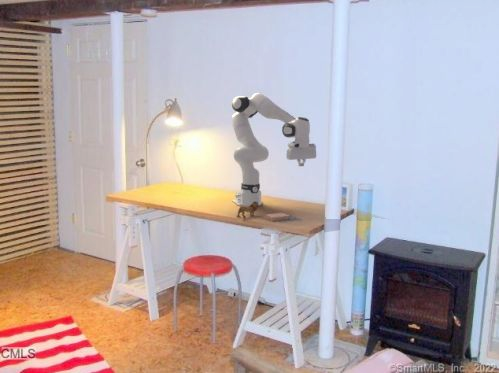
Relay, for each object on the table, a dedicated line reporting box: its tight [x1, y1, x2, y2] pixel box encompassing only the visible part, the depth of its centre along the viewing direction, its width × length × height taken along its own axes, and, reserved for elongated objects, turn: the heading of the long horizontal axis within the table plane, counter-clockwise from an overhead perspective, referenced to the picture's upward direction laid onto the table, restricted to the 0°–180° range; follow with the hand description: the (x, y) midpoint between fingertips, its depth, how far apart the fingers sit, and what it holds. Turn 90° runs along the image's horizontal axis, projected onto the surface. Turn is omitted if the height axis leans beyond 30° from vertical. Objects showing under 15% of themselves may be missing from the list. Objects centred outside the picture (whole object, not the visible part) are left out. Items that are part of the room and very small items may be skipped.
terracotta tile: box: [264, 212, 290, 222], centre depth 324 cm, size 8×2×12 cm
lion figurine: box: [236, 201, 260, 218], centre depth 329 cm, size 15×5×9 cm, turn 119°
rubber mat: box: [276, 213, 303, 224], centre depth 326 cm, size 18×16×1 cm
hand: (301, 166), depth 339 cm, fingers closed
